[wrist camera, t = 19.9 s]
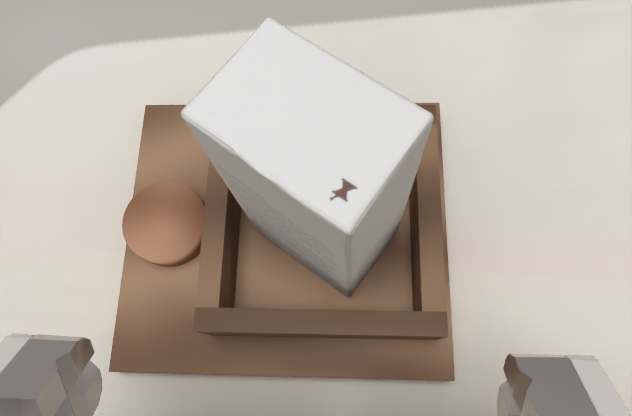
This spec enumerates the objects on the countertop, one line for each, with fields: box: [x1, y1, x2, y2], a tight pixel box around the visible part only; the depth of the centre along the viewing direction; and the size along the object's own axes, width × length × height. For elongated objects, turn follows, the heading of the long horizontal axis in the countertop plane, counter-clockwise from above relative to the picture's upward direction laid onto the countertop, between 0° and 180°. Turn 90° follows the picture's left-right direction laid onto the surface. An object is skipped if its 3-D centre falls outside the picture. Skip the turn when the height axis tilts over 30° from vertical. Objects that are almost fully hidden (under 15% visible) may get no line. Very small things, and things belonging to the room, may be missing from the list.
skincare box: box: [181, 17, 434, 298], centre depth 19 cm, size 6×4×12 cm
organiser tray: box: [109, 103, 454, 381], centre depth 24 cm, size 14×16×4 cm
